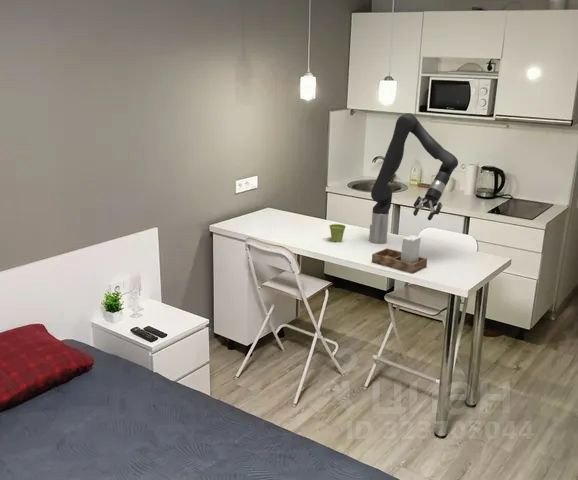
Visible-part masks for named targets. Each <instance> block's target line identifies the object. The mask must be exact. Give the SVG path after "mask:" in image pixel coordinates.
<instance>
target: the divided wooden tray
mask: <svg viewBox="0 0 578 480" xmlns="http://www.w3.org/2000/svg"><path fill="white" fill-rule="evenodd" d="M401 253H402V251H399V250H395V249H391V248H388V247H386V248H384V249H382V250H379V251H377V252H374V253H372V255H371V263H374V264H375V265H380V266H384V267H388V268H391V269H395V270H397V271H401V272H405V273H409V274H415V273H417V272H420V271H421V270H424V269H425V268H427V266H428V265H427V264H428V258H426V257H422V256H419V260H418V262H416V263H414V264H411V263H407V262H403V261H401Z"/></svg>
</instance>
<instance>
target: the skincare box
mask: <svg viewBox="0 0 578 480" xmlns="http://www.w3.org/2000/svg"><path fill="white" fill-rule="evenodd" d="M421 239H422V238H421V237H420V236H416V235H413V234H410V235H407V236H406V237H403V238H402V243H401V244H402V245H401V252H402V253H401V261H403V262H407V263H411V264H414V263H416V262H418V260H419V257H420V250H421V249H420V248H421V247H420V246H421Z"/></svg>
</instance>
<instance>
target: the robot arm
mask: <svg viewBox="0 0 578 480" xmlns="http://www.w3.org/2000/svg"><path fill="white" fill-rule="evenodd" d="M410 133H411V135H414V136H415V137H416V139H417V140H418V141H419V142H420V144H421V145H422V147H423V148H424V150H425V151H426V152H427V153H428V155H430V156H431V157H432V158H433V159H434V160H439V161H440V162H441V165H440V167H439V169H438V171H437V173H436V175H435V177H434V178H433V181H431V183H430V185H429V187H428V189H427V191H426V192H425V195H424V197H421V196H418V197H416V200H415V201H414V204H413V207H414V208H415V209H414V210H413V212H412V215H413V216H415V217H417V215H418V213H419V212H420V210H421V209H423V208H426V209H429V210H430V211H431V212H429V213H428V214H429V215H428V216H427V220H428V221H431V220H432V219H433V218H434V216H435V215H439V214H440V212H441V209H442V207H443V204H442V202H439V201H440V199H441V197H442V195H443V194H444V191H445V189H446V187H447V185H448V183H449V182H450V177H451V175H452V173H453V172H454V171H455V169H456V168H457V167H458V166H459V160H458V158H457V157H456V156H455V155H454V154H453V153H451V152H449V151H448V150H446V149H445V148H444V147H442V145H441V144H440V143H439V142H438V141H436V139H435V138H434V137H432V135H431V134H430V133H428V131H427V130H426V129H425V127H424V126H423V125H422V124H421V122H420V121H419V120H418V119H417V117H416V116H415V115H414V114H413V113H411V112H407V113H404V114H402V115H401V116H399V117H398V118H397V120H396V121H395V127H394V129H393V134H392V138H391V141H390V142H389V144H388V148H387V151H386V153H385V156H384V158H383V161H382V164H381V166H380V170H379V173H378V174H377V177H376V180H375V182H374V183H373V186H372V188H371V192H370V197H371V199H372V200H373V202H376V204H375V205H374V206H373V207H372V215H371V224H369V225H370V226H369V236H368V237H369V238H368V241H369V242H370V243H373V244H381V245H382V244H386V243H387V240H388V228H389V213H390V211H391V210H390V209H391V207H392V201H393V200H392V199H393V189H392V187H391V186H390V185H389V182H390V181H391V179H392V177H393V176H394V175H395V174H396V172H397V171H398V169H399V168H400V166H401V162H402V161H403V157H404V153H405V143H406V141H407V138H408V136H409V134H410ZM435 207H436V208H435Z"/></svg>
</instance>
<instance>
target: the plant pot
mask: <svg viewBox="0 0 578 480" xmlns="http://www.w3.org/2000/svg"><path fill="white" fill-rule="evenodd" d="M328 227H329V230H330V237H331V241H332V242H336V243H339V242H342V241H343V237H344V232H345V229H346V227H347V226H346V225H344V224H341V223H339V224H338V223H335V224H334V223H333V224H330V225H329V226H328Z"/></svg>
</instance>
